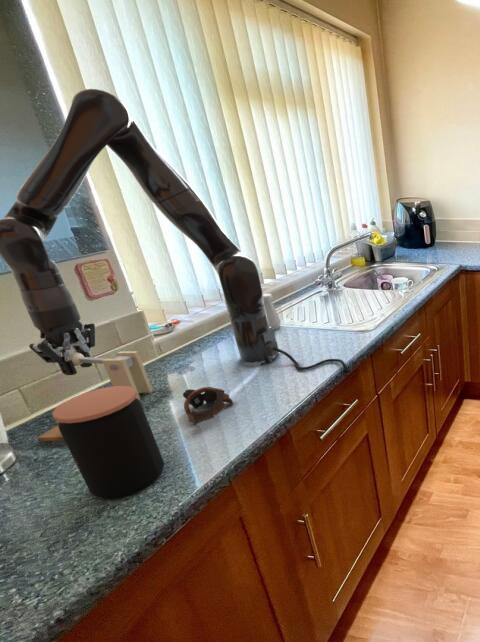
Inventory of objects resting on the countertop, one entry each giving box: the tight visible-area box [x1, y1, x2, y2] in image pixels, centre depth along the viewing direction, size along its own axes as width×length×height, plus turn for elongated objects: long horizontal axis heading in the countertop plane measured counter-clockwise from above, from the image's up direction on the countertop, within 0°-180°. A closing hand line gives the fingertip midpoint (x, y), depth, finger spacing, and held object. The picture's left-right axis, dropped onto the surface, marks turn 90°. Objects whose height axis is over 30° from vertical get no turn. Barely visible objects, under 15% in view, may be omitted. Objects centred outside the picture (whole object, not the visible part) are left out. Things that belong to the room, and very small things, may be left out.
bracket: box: [102, 350, 154, 401], centre depth 101 cm, size 10×8×13 cm
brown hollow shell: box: [182, 386, 234, 426], centre depth 97 cm, size 12×10×8 cm
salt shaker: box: [263, 293, 282, 331], centre depth 145 cm, size 6×6×13 cm
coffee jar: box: [51, 386, 165, 500], centre depth 74 cm, size 11×11×18 cm
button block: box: [36, 422, 65, 442], centre depth 90 cm, size 11×9×4 cm
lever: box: [69, 351, 134, 368], centre depth 99 cm, size 14×3×3 cm, turn 93°
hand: (79, 370), depth 99 cm, fingers closed on lever, 3 cm apart
